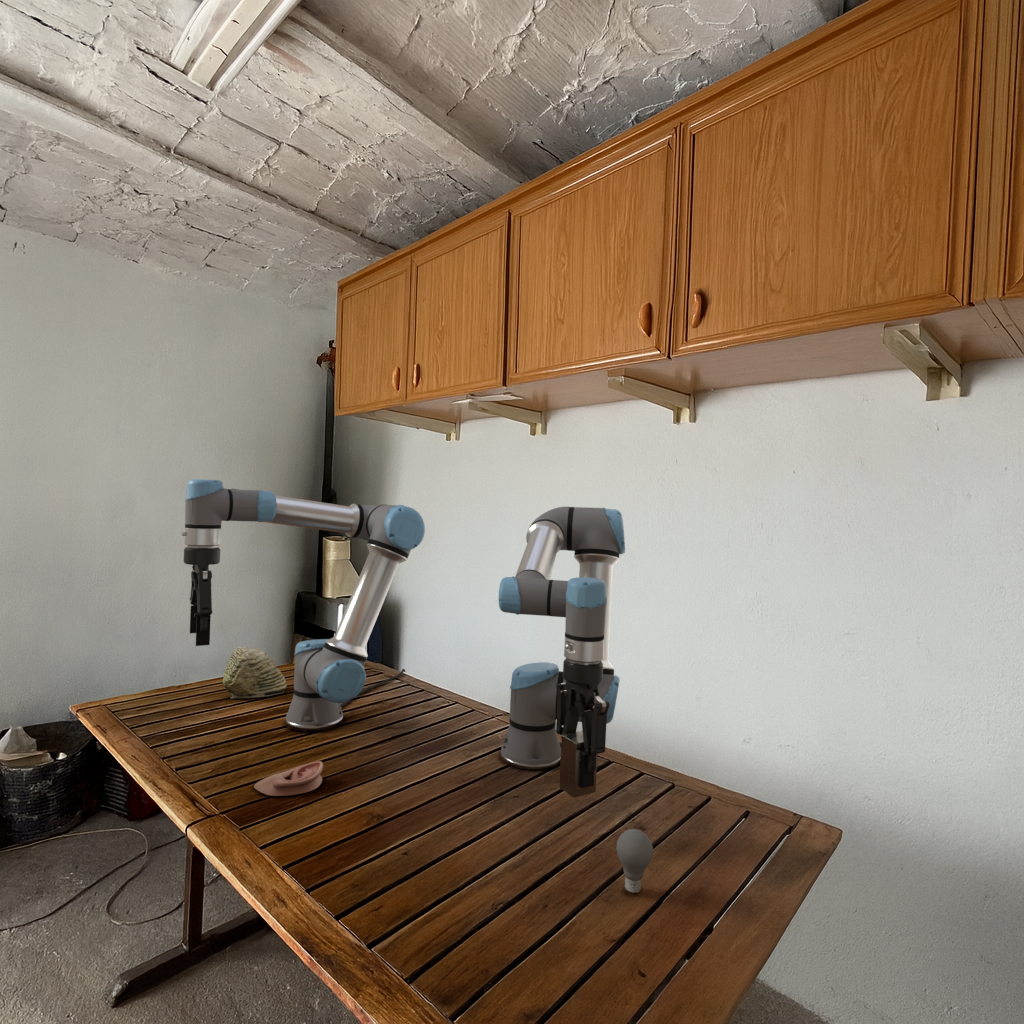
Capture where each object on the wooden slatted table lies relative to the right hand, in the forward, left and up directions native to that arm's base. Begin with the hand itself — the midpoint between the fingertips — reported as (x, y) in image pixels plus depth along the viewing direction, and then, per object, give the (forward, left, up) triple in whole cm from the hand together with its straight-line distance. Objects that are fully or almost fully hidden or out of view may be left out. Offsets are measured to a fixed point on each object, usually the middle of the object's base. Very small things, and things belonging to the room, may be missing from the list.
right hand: (577, 779), depth 121 cm
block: (0, 0, -2) cm, 2 cm away
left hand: (+32, -83, +18) cm, 91 cm away
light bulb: (+8, +16, -11) cm, 21 cm away
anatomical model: (+24, -59, -11) cm, 64 cm away
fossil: (-5, -120, -11) cm, 121 cm away
